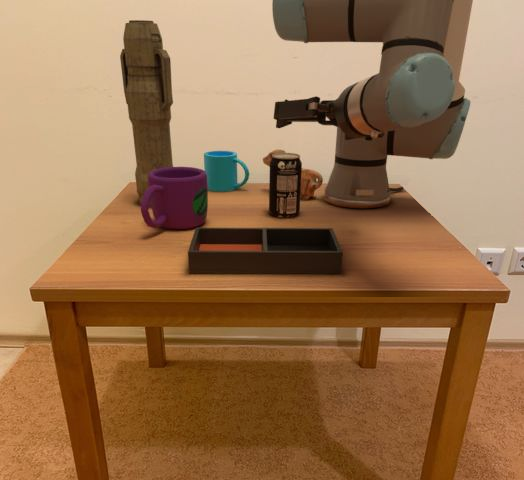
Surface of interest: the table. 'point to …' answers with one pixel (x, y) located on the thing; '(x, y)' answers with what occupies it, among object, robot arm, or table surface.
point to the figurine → (302, 177)
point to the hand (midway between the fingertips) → (313, 126)
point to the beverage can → (285, 184)
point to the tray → (265, 251)
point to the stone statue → (147, 98)
